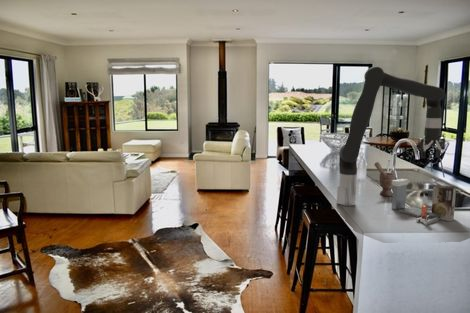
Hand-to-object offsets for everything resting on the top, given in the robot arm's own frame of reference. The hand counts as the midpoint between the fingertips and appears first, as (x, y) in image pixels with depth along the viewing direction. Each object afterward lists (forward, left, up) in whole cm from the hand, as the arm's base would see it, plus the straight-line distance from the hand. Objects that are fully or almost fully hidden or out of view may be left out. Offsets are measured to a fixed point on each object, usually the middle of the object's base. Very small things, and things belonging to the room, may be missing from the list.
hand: (430, 157), depth 199 cm
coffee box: (-8, -13, -28) cm, 32 cm away
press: (-15, -3, -27) cm, 32 cm away
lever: (-22, -12, -27) cm, 37 cm away
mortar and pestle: (+4, +29, -28) cm, 40 cm away
